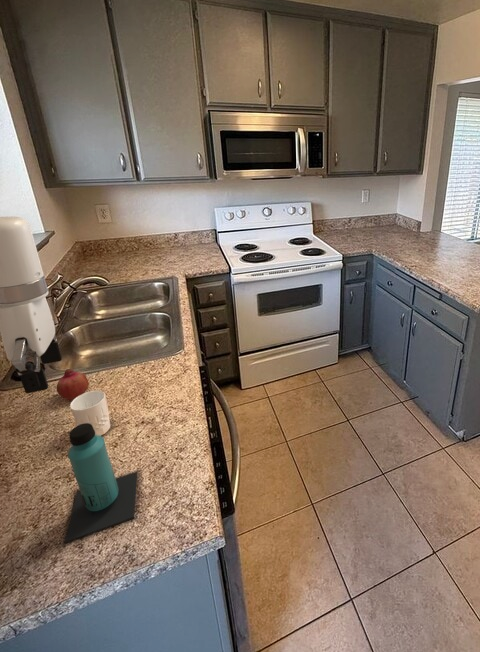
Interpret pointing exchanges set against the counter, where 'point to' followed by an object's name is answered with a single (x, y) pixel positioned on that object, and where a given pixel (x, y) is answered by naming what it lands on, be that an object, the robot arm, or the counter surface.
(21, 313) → the robot arm
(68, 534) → the corner mat
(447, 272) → the counter surface
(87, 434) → the beverage bottle
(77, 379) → the fruit
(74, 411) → the white cup
